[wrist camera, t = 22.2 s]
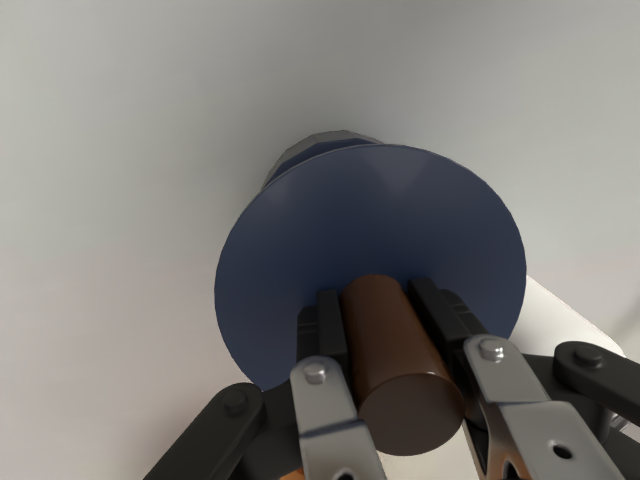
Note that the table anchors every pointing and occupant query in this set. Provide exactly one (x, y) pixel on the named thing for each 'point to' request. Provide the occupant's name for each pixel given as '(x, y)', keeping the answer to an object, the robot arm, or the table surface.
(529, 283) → the can
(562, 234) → the table surface
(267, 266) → the lid
